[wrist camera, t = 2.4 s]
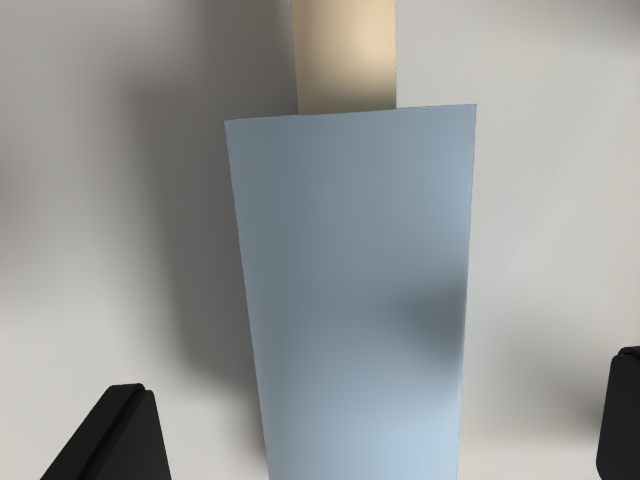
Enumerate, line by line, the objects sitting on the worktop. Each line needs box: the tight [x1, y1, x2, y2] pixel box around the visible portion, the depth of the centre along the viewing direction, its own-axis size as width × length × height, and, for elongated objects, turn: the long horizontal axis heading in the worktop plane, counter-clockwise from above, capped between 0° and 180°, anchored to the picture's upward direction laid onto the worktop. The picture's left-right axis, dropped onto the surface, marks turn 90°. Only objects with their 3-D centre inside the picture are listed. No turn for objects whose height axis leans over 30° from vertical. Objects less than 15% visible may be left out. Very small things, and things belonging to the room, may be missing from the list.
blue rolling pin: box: [224, 0, 476, 480], centre depth 12 cm, size 19×6×6 cm, turn 4°
